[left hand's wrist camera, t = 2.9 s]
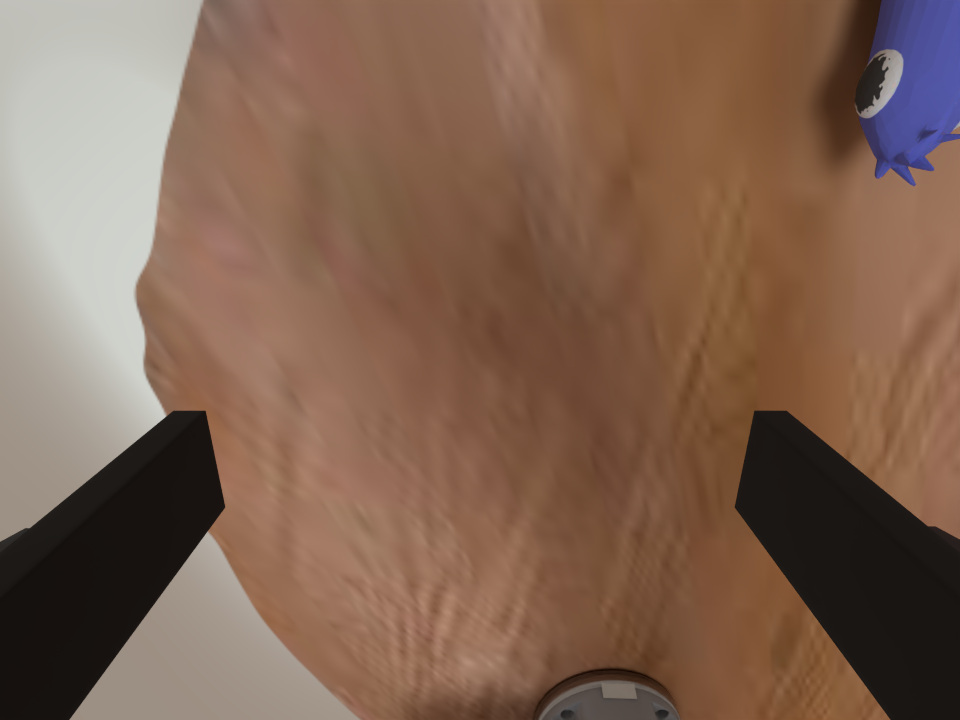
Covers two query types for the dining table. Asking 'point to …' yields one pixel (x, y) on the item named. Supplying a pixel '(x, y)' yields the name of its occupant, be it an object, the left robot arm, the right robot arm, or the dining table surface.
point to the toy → (911, 84)
